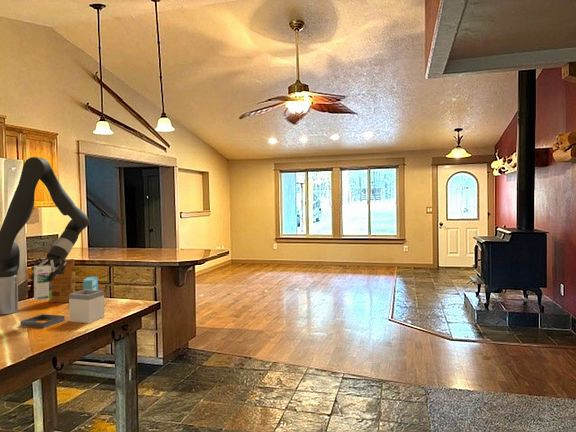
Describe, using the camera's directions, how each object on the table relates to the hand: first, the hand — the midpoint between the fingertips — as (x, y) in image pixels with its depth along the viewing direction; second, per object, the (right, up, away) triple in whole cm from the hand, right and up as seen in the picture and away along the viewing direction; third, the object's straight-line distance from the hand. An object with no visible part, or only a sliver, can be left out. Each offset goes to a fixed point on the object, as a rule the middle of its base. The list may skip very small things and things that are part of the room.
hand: (40, 280), depth 181 cm
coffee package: (-13, -17, +42) cm, 47 cm away
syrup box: (0, -9, +2) cm, 9 cm away
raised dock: (+16, -19, +8) cm, 26 cm away
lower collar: (0, -19, +2) cm, 19 cm away
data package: (+2, -17, +43) cm, 46 cm away
